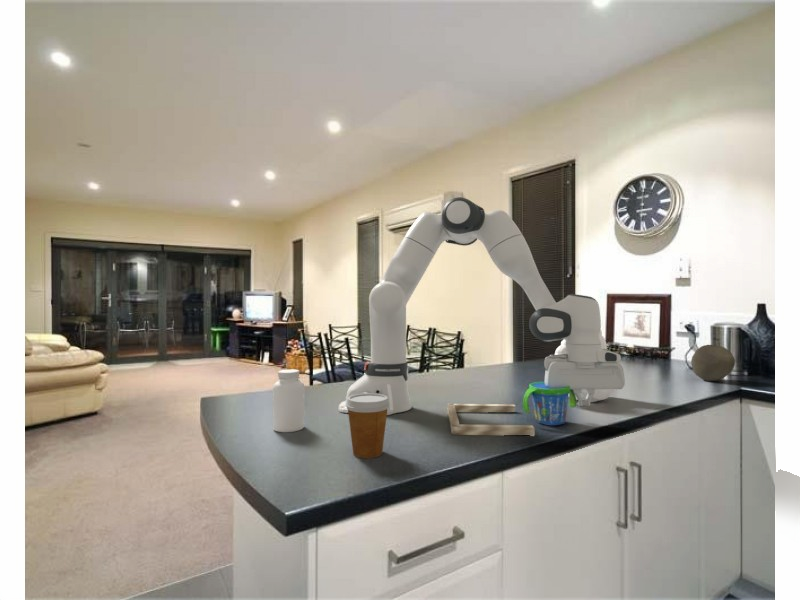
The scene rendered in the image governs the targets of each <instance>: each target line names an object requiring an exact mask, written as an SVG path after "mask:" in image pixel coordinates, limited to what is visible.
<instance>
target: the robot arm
mask: <svg viewBox="0 0 800 600" xmlns="http://www.w3.org/2000/svg"><path fill="white" fill-rule="evenodd" d="M476 241H480V242H481V243H482V244H483V246H484V248H485V249H486V251H487V253H488V255H489V257H490V259H491V261H492V262H493V264H494V265H495V266H496V268H497V269H498V270H499V271H500V272H501V274H503V275H505V276H507V277H508V278H511V280H513V281H514V282H516V284H518V286H520V287H521V288H522V289H523V291H524V293H525V294H526V296H527V298H528V300H529V301H530V303H531V304H532V306H533V308H534V310H535V311H534V312H533V313H532V314H531V315H530V317H529V323H528V325H529V326H528V327H529V330H530V332H531V334H532V335H533V336H534V337H535V338H536V339H538V340H541V341H543V342H553V341H562V340H564V339H565V341H566V354H559V355H555V353H554V354H553V353H551V354H549V355H548V356H546V357H545V358H544V361H543V365H544V366H543V367H544V369H545V372H544V381H543V382H545V385H546V386H547V387H548V388H549V389H556V388H563V387H567V386H570V389H574V393H575V395H576V397H577V398H578V401H577V404H578V406H580V407H590V406H591V402H590V400H591V399H592V397H593V395H594V394H595V389H613V390H622V389H623V388H624V387H625V385H626V384H625V383H626V382H625V381H626V380H625V372H624V367H623V365H622V364H621V363H620V362H621V360H622V358H621V357H622V356H621V354H620V353H617V352H614V351H610V350H608V349H607V350H606V349H602V348H601V340H600V337H599V332H600V329H601V327H602V322H601V321H602V319H601V310H600V305H599V302H598V300H596V298H594V297H592V296H588V295H583V294H577V293H576V294H575V293H574V294H573V293H570V294H568V295H566V297H564V298H562V299H561V300H559V301H558V302H557V301H556V299H555V298H554V296H553V295H552V293H551V291H550V289H549V288H548V287H547V285H546V283H545V281H544V280H543V278H542V276H541V275H540V272H539V270H538V267H537V265H536V262H535V260H534V257H533V254H532V252H531V249H530V246H529V245H528V243H527V241H526V238H525V236H524V235H523V234H522V232H521V230H520V229H519V227H518V225H517V224H516V223H515V221H514V220H513V219H512V218H511V216H510V215H509V214H508V213H507V212H505V210H502V209H494V210H491V211H489V212H486V213H485V209H484V208H483V207H481V206H480V205H478V204H476V203H474V202H473V201H471V199H468V198H465V197H460V196H459V197H457V196H456V197H454V198H451V199H450V200H448V201H447V202H446V203H445V205H444V206H443V207H442V211H441V214H438V213H435V212H431V211H426V212H423V213H421V214H420V215H419V216H418V217H417V218H416V219H415V220H414V222H413V223H412V224H411V226H410V227H409V229H408V230H407V231H406V233H405V234H404V237H403V238H402V240H401V241H400V244H399V245H398V247H397V249H396V250H395V252H394V254H393V255H392V258H391V259H390V262H389V263H388V266H387V268H386V270H385V272H384V274H383V276H382V277H381V279H380V281H379V283H377V284H375V286H374V287H373V288H371V290H370V293H369V295H368V307H369V309H368V311H369V312H368V313H369V314H368V315H369V328H370V329H369V330H370V332H369V333H370V361H366V362H365V363H364V365H363V367H364V369H363V371H364V372H363V373H364V374H363V375H362V376H360V378H358V379H357V380H356V381H355V382H353V383H352V384H351V385H350V386H349V387H348V390H347V392H346V395H345V400H343V401H342V402H339V405H338V408H337V409H338V411H339V412H340V413H344V414H345V413H346V414H347V413H348V409H347V406H346V403H347V400H348V397H350V396H352V395H357V394H381V395H385V396H387V398H388V402H389V403H390V404H389V407H388V409H387V416H391V415H393V414H396V413H397V414H398V413H402V412H407V411H409V410H411V409H412V408H413V406H412V404H411V400H410V394H409V387H408V379H409V365H408V361H407V304H408V302H409V301H410V299H411V297H412V295H413V294H414V292H415V290H416V288H417V286H418V285H419V283H420V282H421V280H422V278H423V276H424V274H425V273H426V272H427V269H428V267H429V266H430V264H431V262H432V261H433V259H434V257H435V255H436V253H437V252H438V250H439V248H440V247H441V245H442V244H443V243H444V242H446V243H447V244H452V245H453V244H454V245H457V246H463V247H465V246H471V245H472V244H474V243H476ZM601 330H602V329H601ZM582 389H586V391H587V392H588V394H587V396H586V398H582V397H581V396H580V394H579V393H582Z"/></svg>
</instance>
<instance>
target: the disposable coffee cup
mask: <svg viewBox="0 0 800 600" xmlns="http://www.w3.org/2000/svg"><path fill="white" fill-rule="evenodd" d="M389 404H390V403H389V402H388V398H387V396H385V395H381V394H357V395H352V396H350V397H348V400H347V403H346V406H347V409H348V420H349V422H348V423H349V429H350V439H351V447H352V454H353V456H355V457H357V458H361V459H373V458H377V457H380V456H381V455H383V448H384V440H385V433H386V425H387V424H386V423H387V416H388V415H387V409H388V407H389Z"/></svg>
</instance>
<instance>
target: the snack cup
mask: <svg viewBox="0 0 800 600" xmlns="http://www.w3.org/2000/svg"><path fill="white" fill-rule="evenodd" d="M568 394H569V397H568ZM530 396H531V398H532V407H533V411H534V416H535V420H536V421H537V422H538V424H541V425H544V426H545V425H546V426H560V425H564V424H565V422H566V420H567V419H566V418H567V410H568V405H569V407H570V408H575V407H576V406H577V400H576V396H575V393H574V390H573V389H570V386H567V387H563V388H556V389H549V388H548V387H547V386H546V385H545V382H544V381H536V382H531V383H529V385H528V389H526V391H525V393H524V395H523V400H522V409H523V411H524V413H526V414H529V413H530V407H529V398H530Z"/></svg>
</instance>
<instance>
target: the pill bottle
mask: <svg viewBox="0 0 800 600" xmlns="http://www.w3.org/2000/svg"><path fill="white" fill-rule="evenodd" d="M277 377H278V380H277V381H276V382H275V383H274V384H273V386H272V387H273V388H272V428H273V430H274V431H275V432H278V433H293V432H298V431H302V430H303V429H304V427H305V406H306V405H305V403H306V401H305V396H306V395H305V389H306V388H305V384H304V382H303V381H302V380H300V370H299V369H293V368H291V369H282V370H278V372H277Z"/></svg>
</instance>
